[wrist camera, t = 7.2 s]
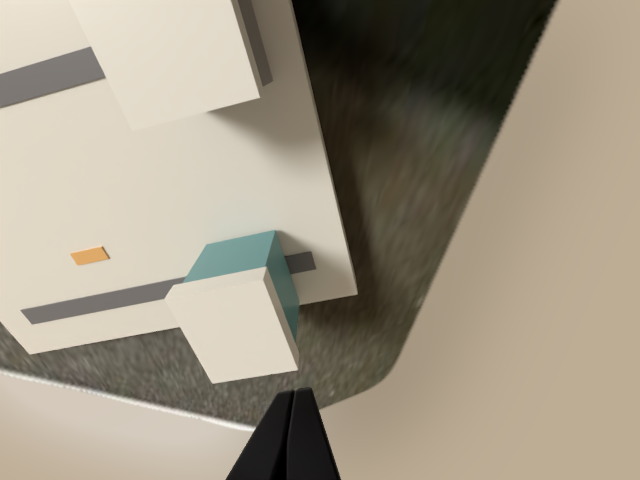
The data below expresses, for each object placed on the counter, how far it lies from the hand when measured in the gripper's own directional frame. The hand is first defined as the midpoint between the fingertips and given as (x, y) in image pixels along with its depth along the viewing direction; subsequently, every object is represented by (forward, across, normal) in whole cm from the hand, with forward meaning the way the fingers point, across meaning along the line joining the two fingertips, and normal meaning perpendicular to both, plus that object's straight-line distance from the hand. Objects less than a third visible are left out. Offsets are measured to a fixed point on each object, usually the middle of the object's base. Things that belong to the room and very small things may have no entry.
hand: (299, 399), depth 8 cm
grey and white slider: (+11, +3, -9) cm, 14 cm away
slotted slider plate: (+13, +10, -3) cm, 17 cm away
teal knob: (+11, +4, +3) cm, 12 cm away
